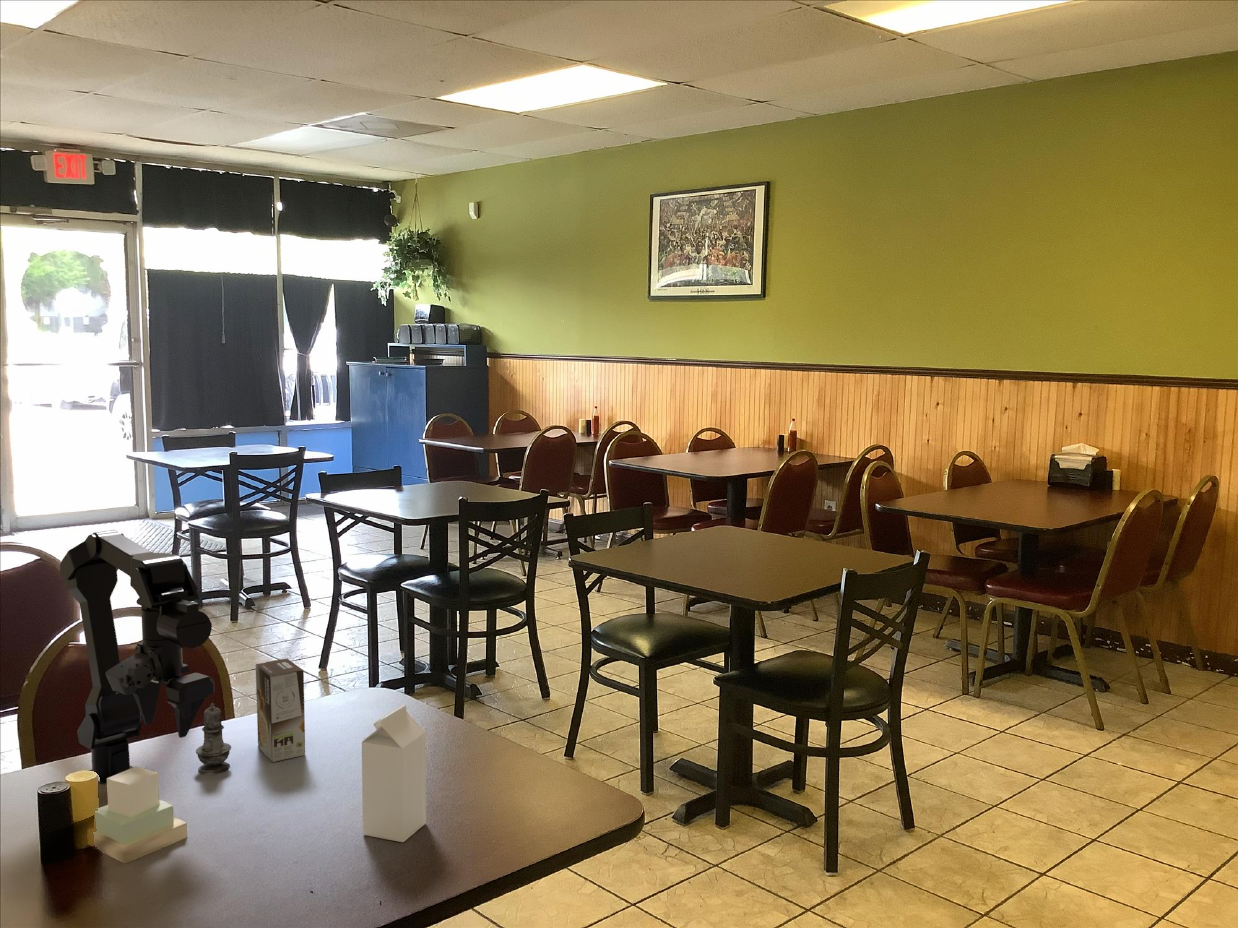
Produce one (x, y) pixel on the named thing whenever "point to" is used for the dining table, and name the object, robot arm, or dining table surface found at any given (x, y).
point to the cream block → (133, 791)
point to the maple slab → (141, 842)
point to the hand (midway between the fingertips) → (165, 730)
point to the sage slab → (133, 822)
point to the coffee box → (280, 709)
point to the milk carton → (394, 777)
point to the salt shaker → (213, 744)
